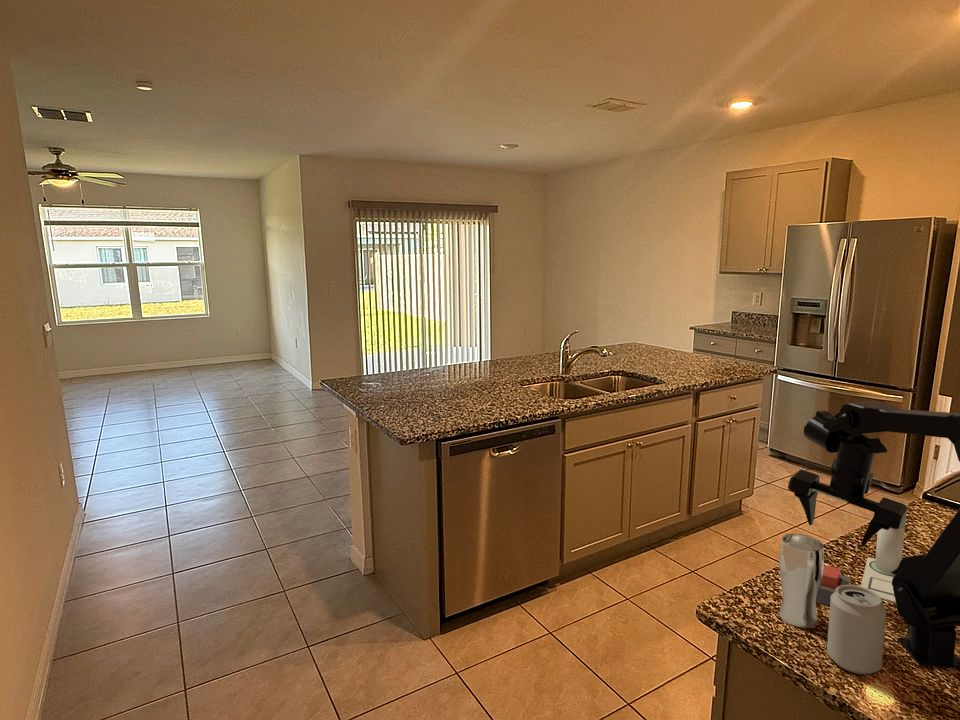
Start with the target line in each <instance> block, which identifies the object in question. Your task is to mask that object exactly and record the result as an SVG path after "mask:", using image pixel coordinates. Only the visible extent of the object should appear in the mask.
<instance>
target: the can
mask: <svg viewBox="0 0 960 720" xmlns="http://www.w3.org/2000/svg"><path fill="white" fill-rule="evenodd" d="M828 617H829V618H828V629H827V643H826V645H827V647H826V653H827V654H828V656H829V657H830V658H831V659H832V660H833V661H834V663H835V664H837V666H839V667H840V668H842V669H843V670H846V671H848V672H850V673H854V674H858V675H870V674H873V673H877V672H879V671H880V670H881V669H882V666H883V655H884V654H883V653H884V642H885V631H886V621H887V620H886V619H887V608H886V607H885V606H884V604H883V599H881V598H880V597H879V596H878V595H877V594H876V593H874V592H873V591H871V590H869V589H866V588H863V587H861V585H860V586H859V585H854V584H850V585H842V586H839V587H837V588H836V592H834V593H833V594H832V595H831V600H830V606H829V616H828Z"/></svg>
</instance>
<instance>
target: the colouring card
mask: <svg viewBox="0 0 960 720" xmlns="http://www.w3.org/2000/svg"><path fill="white" fill-rule="evenodd" d="M875 560H876V558H873V557H869V556H868V557H867V560H866V564H865V567H864V571H863V575H862V580H861V584H860V587H863V588H866V589H869V590H871V591H873V592H874V593H876V594H877V595H878V596H879V597H880V598H881V599H882V601H887V602H890V603H894V604H896V600H895V596H894V591H893V586H892V579H893V577H894V576H895V574H891V573H886V572H883V571H881V570H879V569H877V568H876V567H875Z"/></svg>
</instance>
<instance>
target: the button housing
mask: <svg viewBox="0 0 960 720" xmlns="http://www.w3.org/2000/svg"><path fill="white" fill-rule="evenodd" d="M842 585H851V577H850V576H846V575H843V574H840V582H839V586H842ZM839 586H838V587H839ZM834 592H836V589H833V588H829V587H825V586H822V585H820V589H819V592H818V595H817V599H816V603H818V604H823V605H825V606H829V607H830V600H831V595H832V594H833V593H834Z"/></svg>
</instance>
